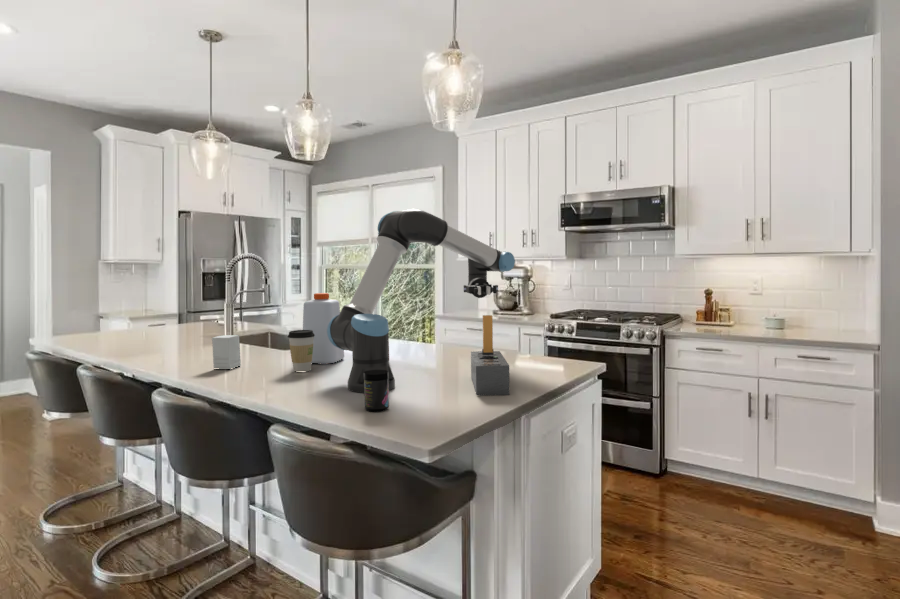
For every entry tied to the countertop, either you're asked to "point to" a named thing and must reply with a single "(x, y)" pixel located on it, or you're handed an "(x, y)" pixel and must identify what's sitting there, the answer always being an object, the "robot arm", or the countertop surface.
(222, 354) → the supplement box
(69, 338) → the countertop surface
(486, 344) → the lever
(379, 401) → the supplement container
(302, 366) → the coffee cup
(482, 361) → the dark gray slotted block
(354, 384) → the robot arm
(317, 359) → the plastic bottle
